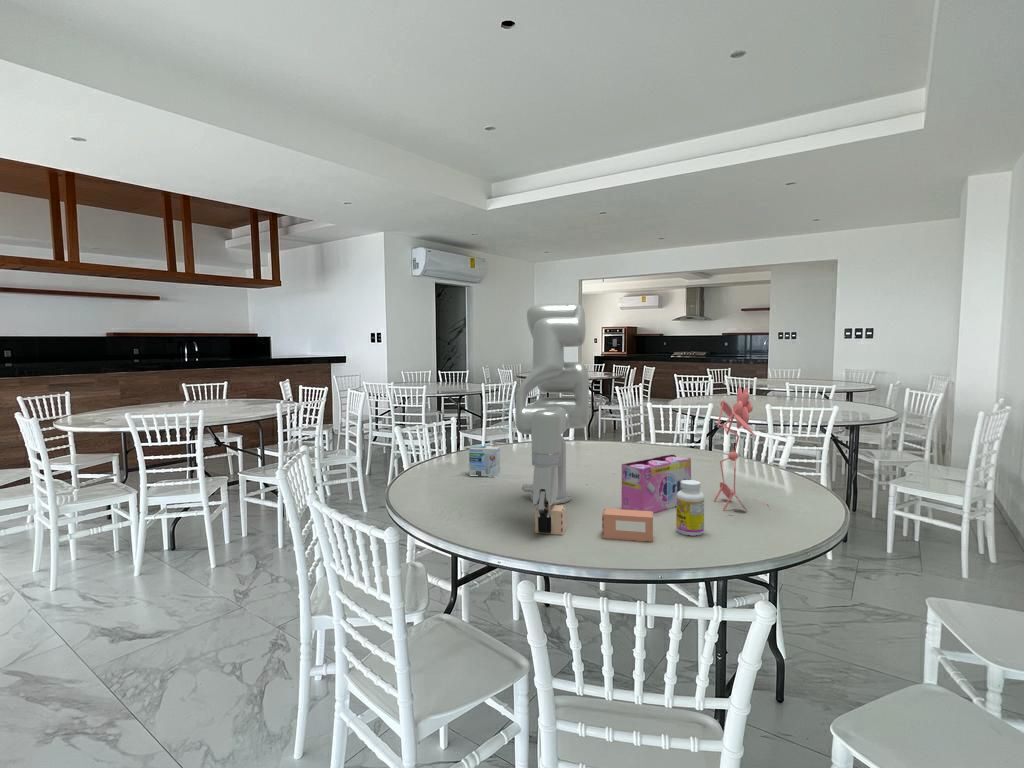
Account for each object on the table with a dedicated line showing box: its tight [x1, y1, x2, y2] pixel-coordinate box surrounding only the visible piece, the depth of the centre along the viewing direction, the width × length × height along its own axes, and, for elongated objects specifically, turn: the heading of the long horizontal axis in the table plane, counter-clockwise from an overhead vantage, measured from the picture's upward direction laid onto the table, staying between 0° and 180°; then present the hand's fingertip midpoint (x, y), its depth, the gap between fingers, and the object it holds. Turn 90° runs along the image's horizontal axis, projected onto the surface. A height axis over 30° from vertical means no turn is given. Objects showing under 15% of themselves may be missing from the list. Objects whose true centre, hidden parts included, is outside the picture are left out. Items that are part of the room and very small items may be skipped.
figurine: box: [713, 386, 771, 517], centre depth 157 cm, size 15×26×35 cm, turn 175°
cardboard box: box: [601, 507, 654, 543], centre depth 133 cm, size 12×5×6 cm, turn 75°
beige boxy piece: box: [534, 504, 567, 536], centre depth 138 cm, size 7×5×6 cm
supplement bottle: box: [675, 479, 705, 537], centre depth 136 cm, size 7×7×13 cm
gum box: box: [621, 454, 692, 514], centre depth 159 cm, size 24×8×14 cm, turn 126°
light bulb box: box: [468, 444, 501, 476], centre depth 200 cm, size 11×7×11 cm, turn 81°
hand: (547, 528), depth 138 cm, fingers closed on beige boxy piece, 5 cm apart
